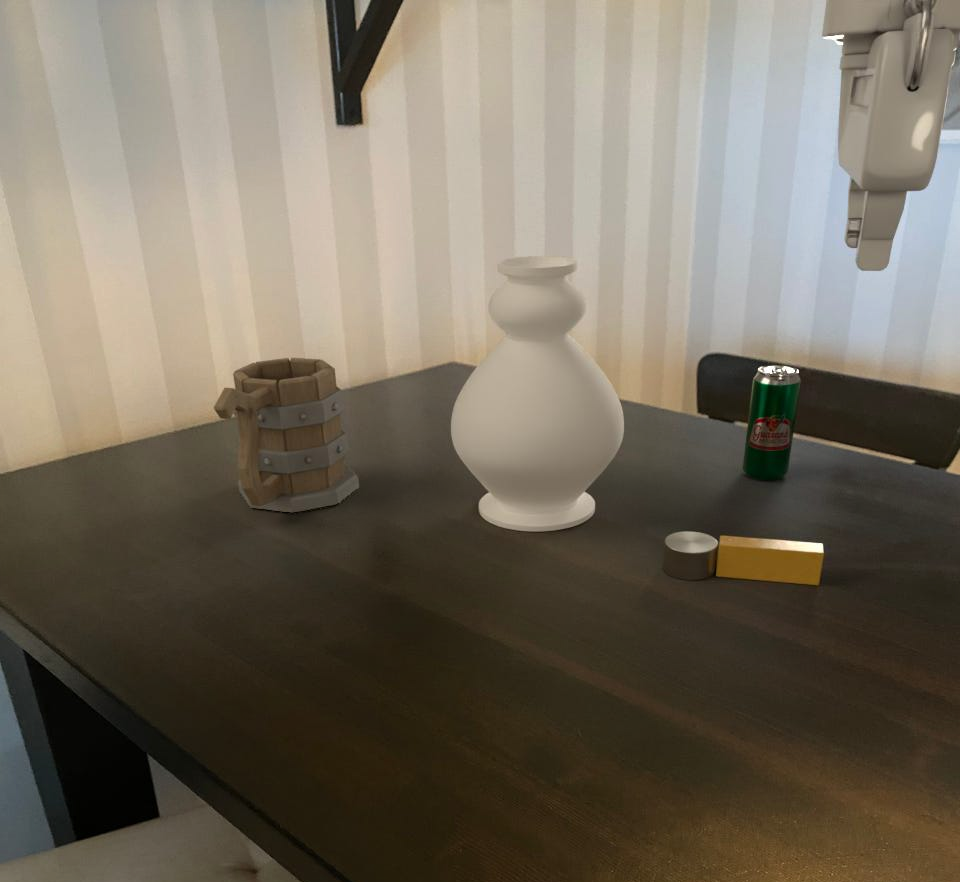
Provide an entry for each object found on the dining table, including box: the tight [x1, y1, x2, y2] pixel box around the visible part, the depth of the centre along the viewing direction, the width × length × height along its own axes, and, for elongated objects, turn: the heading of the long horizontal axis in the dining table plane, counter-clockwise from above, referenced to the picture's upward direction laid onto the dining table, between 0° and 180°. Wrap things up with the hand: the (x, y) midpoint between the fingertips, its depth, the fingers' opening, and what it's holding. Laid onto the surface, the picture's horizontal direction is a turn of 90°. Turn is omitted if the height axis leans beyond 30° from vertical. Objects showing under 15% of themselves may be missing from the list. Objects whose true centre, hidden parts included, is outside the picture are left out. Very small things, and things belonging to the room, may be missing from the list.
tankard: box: [213, 357, 360, 513], centre depth 100 cm, size 20×13×15 cm, turn 161°
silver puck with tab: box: [662, 531, 825, 586], centre depth 85 cm, size 14×5×3 cm, turn 75°
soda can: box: [742, 364, 802, 482], centre depth 105 cm, size 5×5×12 cm
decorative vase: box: [450, 255, 625, 533], centre depth 94 cm, size 18×18×25 cm
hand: (863, 257), depth 61 cm, fingers open, 8 cm apart
